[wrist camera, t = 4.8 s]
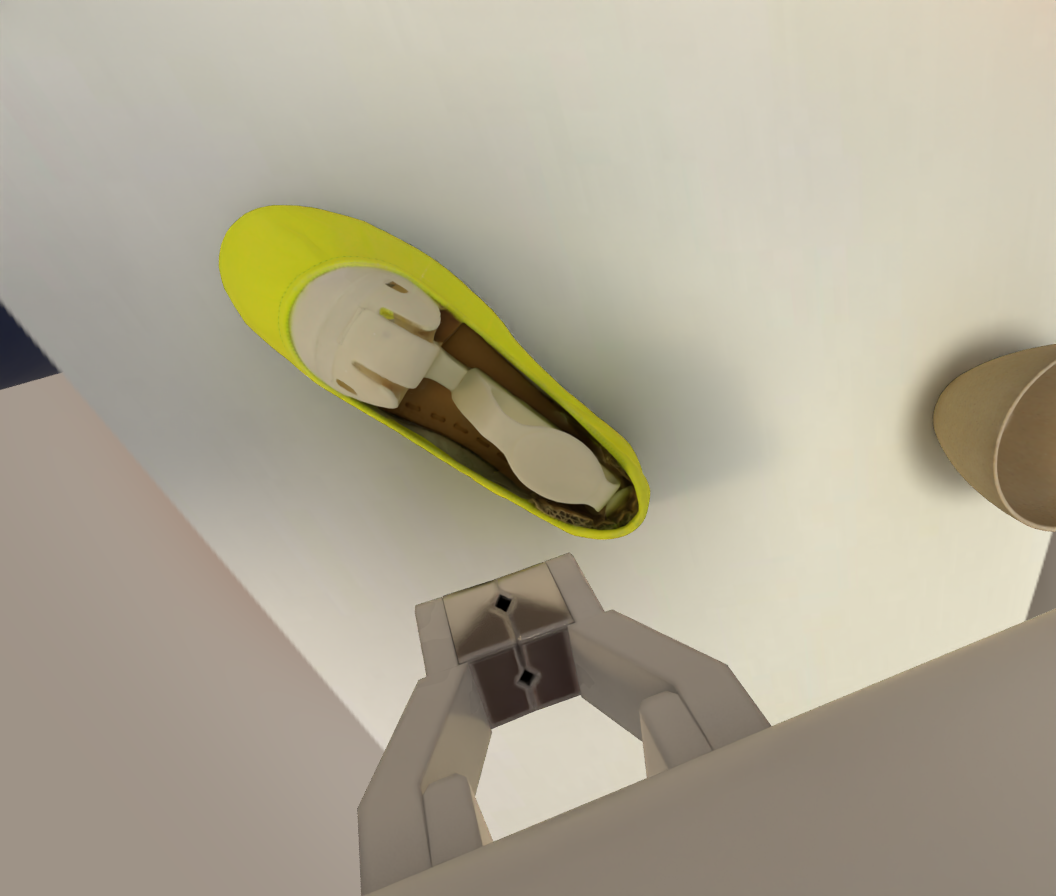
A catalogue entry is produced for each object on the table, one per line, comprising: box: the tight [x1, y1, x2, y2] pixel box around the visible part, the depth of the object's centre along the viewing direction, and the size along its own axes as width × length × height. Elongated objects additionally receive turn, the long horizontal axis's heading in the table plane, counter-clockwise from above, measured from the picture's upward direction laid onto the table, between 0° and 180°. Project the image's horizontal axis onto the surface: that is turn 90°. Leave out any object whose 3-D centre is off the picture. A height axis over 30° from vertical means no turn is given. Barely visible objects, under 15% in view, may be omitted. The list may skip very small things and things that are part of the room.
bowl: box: [933, 344, 1056, 532], centre depth 34 cm, size 10×10×7 cm
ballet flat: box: [219, 205, 650, 539], centre depth 28 cm, size 8×24×8 cm, turn 53°
